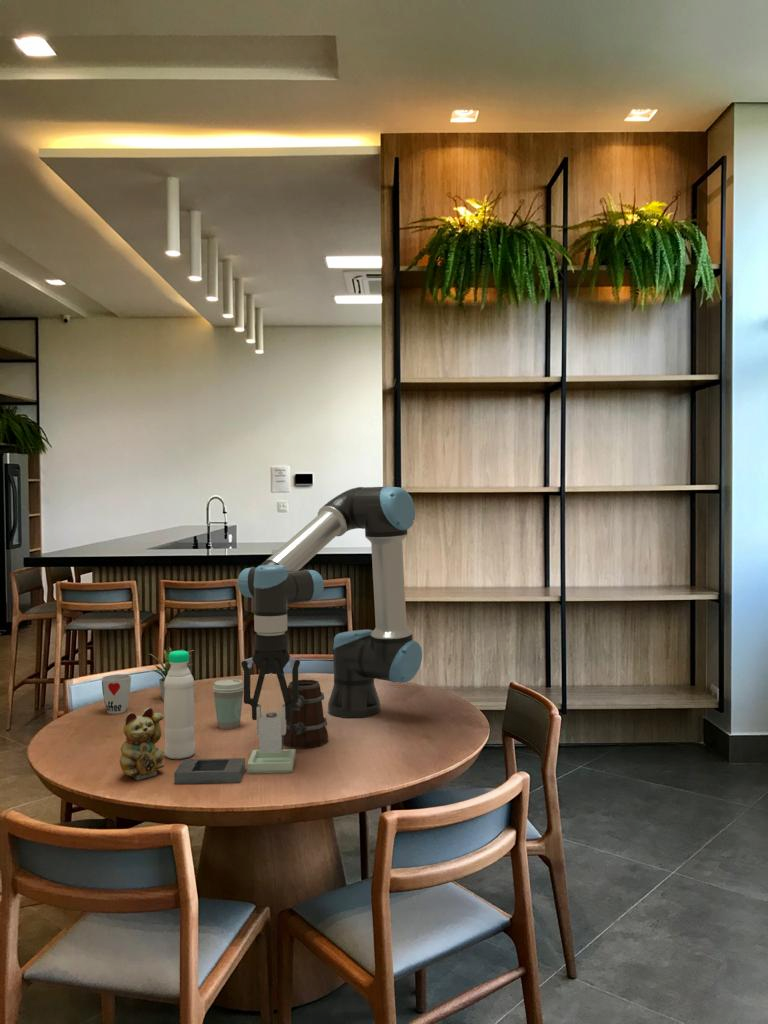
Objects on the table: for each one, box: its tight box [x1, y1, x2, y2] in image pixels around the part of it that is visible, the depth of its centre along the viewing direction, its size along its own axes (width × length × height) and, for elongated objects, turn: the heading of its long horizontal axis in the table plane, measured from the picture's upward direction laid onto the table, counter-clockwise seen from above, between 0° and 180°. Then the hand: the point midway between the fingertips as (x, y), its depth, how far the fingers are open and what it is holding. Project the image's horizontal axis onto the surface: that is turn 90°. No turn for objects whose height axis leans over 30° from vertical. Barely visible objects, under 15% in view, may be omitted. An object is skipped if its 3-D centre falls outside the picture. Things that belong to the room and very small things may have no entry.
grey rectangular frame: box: [173, 757, 246, 785], centre depth 177 cm, size 14×9×2 cm, turn 92°
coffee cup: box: [212, 678, 244, 730], centre depth 216 cm, size 8×9×12 cm
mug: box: [284, 678, 329, 749], centre depth 199 cm, size 16×12×15 cm
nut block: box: [258, 711, 285, 753], centre depth 183 cm, size 5×5×8 cm
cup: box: [101, 673, 132, 715], centre depth 231 cm, size 8×8×10 cm
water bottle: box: [163, 650, 196, 760], centre depth 191 cm, size 7×7×25 cm
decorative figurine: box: [119, 707, 165, 781], centre depth 178 cm, size 10×8×15 cm
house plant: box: [149, 646, 195, 702], centre depth 245 cm, size 14×14×16 cm
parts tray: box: [246, 748, 296, 775], centre depth 183 cm, size 10×10×2 cm
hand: (271, 733), depth 183 cm, fingers closed on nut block, 5 cm apart
